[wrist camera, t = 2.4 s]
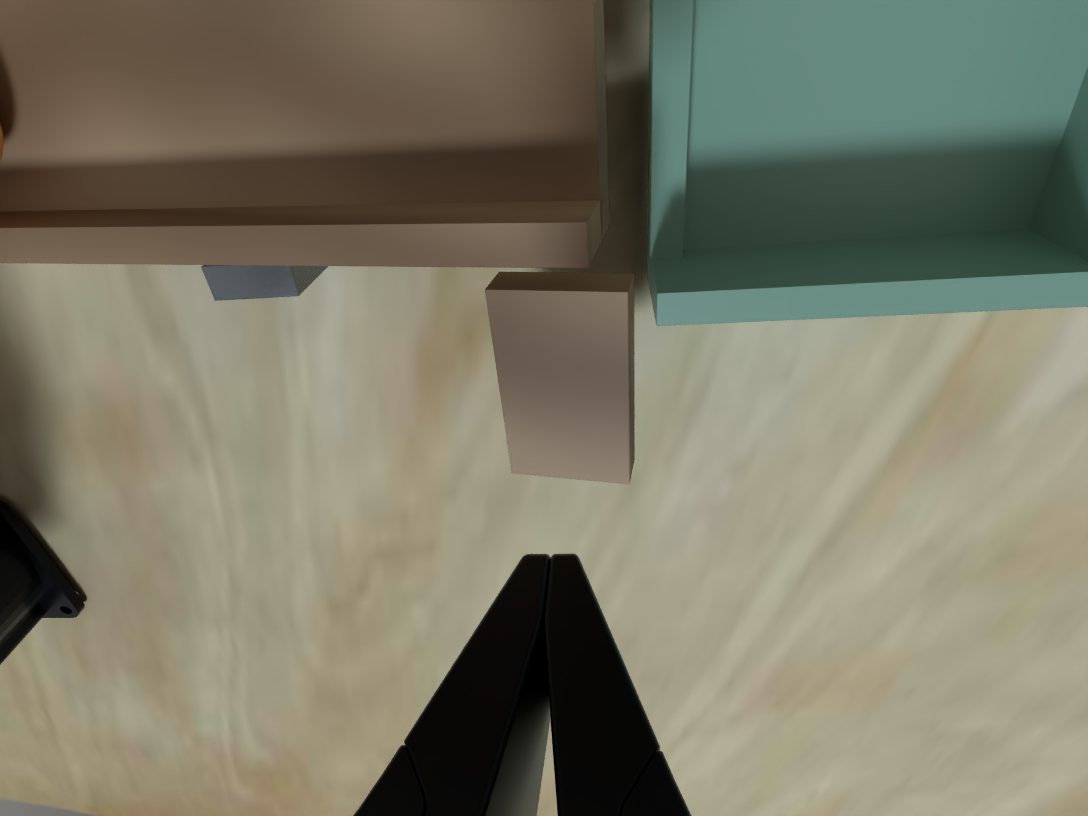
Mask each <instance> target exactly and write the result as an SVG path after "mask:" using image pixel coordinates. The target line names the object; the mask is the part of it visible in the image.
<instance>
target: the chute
mask: <svg viewBox="0 0 1088 816" xmlns="http://www.w3.org/2000/svg"><path fill="white" fill-rule="evenodd" d="M0 124H1V128H2V132H3V140H4V146H3V155H2V158H1V161H0V263H61V264H174V265H286V266H398V267H510V268H589V267H590V265H591V263H592V261H593V259H594V257H595V255H596V253H597V251H598V249H599V247H600V244H601V242H602V240H603V238H604V236H605V234H606V232H607V230H608V228H609V196H608V156H607V116H606V76H605V37H604V0H0ZM485 293H486V300H487V307H488V314H489V321H490V327H491V334H492V341H493V348H494V355H495V362H496V368H497V375H498V382H499V389H500V396H501V403H502V409H503V416H504V423H505V430H506V437H507V444H508V450H509V457H510V464H511V471H512V473H515V474H526V475H536V476H547V477H557V478H568V479H578V480H589V481H599V482H609V483H620V484H630V479H631V474H632V469H633V464H634V273H560V272H499V273H498V274H497V275H496V276H495V278H494V279H493V280H492V281H491V283H490V284H489V285H488V287H487V288H486V289H485Z"/></svg>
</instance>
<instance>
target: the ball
mask: <svg viewBox="0 0 1088 816" xmlns="http://www.w3.org/2000/svg"><path fill="white" fill-rule="evenodd" d="M3 146H4V140H3V132H2V128H1V124H0V161H1V158H2V155H3Z"/></svg>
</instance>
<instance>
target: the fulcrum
mask: <svg viewBox="0 0 1088 816" xmlns="http://www.w3.org/2000/svg"><path fill="white" fill-rule="evenodd" d="M327 267H328V266H286V265H203V266H202V267H201V268H202V270H203V272H204V275H205V277H206V280H207V282H208V285H209V287H210V289H211V292H212V294H213V297H214V299H215V301H216V300H234V299H253V298H272V297H290V296H299V295H300V294H301V293H302V292H303V291H304V290H305V289H306V288H307V287H308V286H309V285H310V284H311V283H312V282H313V281H314V280H315V279H316V278H317V277H318V276H319V275H320V274H321V273H322V272H323V271H324V270H325V269H326V268H327Z"/></svg>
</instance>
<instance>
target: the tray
mask: <svg viewBox="0 0 1088 816" xmlns="http://www.w3.org/2000/svg"><path fill="white" fill-rule="evenodd" d="M647 278H648V283H649V288H650V294H651V299H652V304H653V309H654V314H655V320H656V325H657V326H670V325H692V324H714V323H736V322H758V321H780V320H802V319H824V318H846V317H868V316H890V315H912V314H934V313H956V312H978V311H1000V310H1022V309H1044V308H1066V307H1088V0H650V52H649V153H648V254H647Z"/></svg>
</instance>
